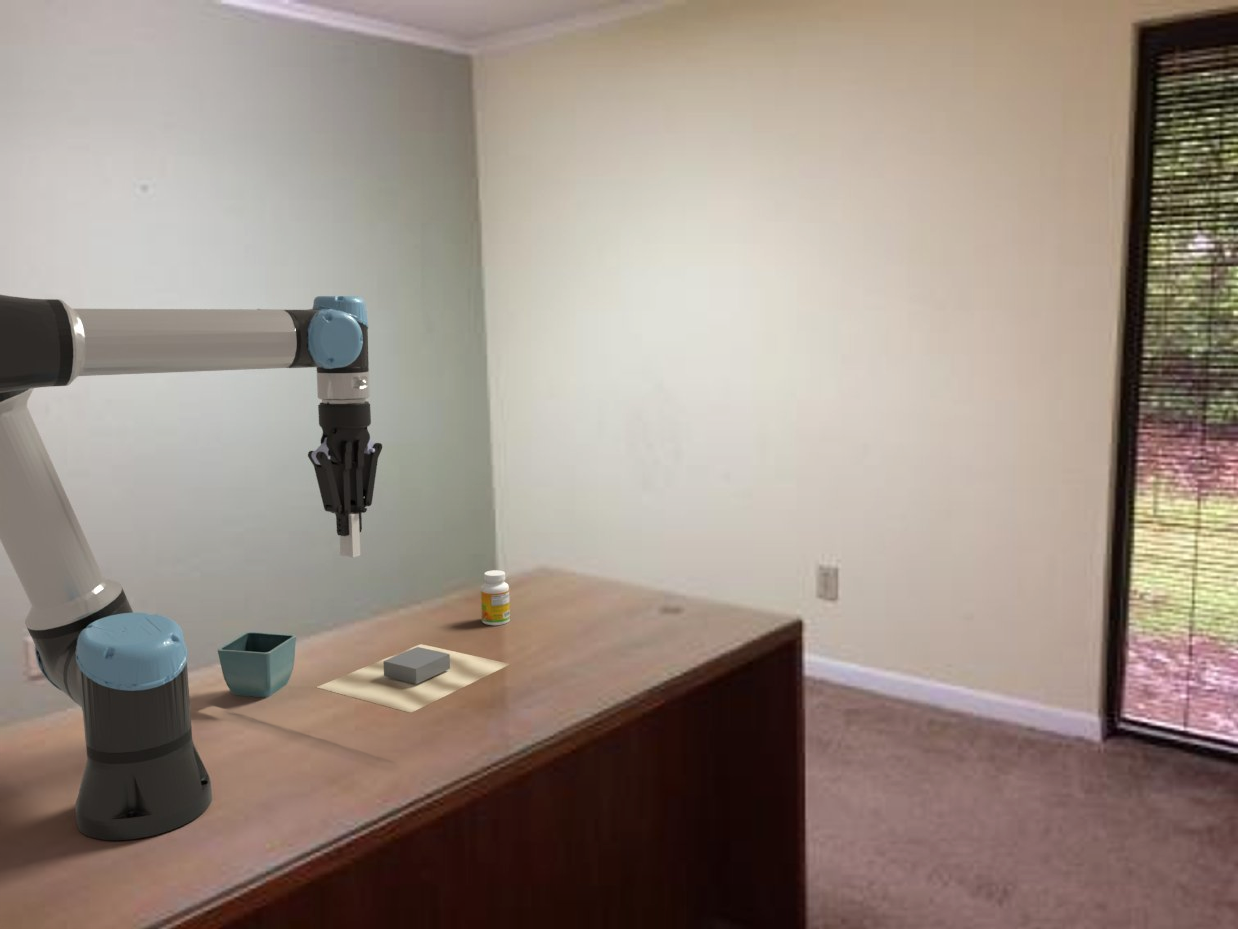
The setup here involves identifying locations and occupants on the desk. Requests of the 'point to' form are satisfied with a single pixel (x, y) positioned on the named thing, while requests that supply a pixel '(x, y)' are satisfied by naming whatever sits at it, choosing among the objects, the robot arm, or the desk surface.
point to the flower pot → (258, 663)
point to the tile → (416, 665)
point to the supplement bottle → (495, 598)
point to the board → (409, 695)
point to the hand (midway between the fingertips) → (350, 555)
